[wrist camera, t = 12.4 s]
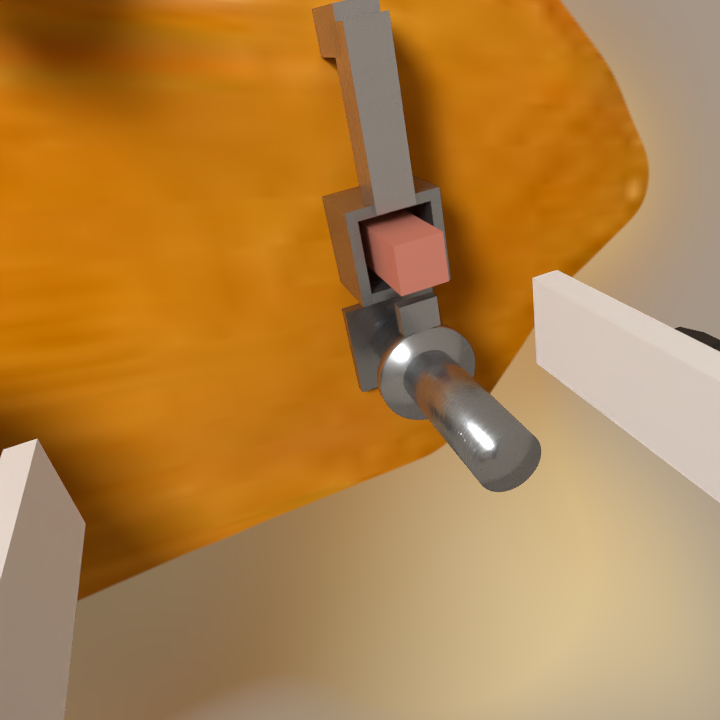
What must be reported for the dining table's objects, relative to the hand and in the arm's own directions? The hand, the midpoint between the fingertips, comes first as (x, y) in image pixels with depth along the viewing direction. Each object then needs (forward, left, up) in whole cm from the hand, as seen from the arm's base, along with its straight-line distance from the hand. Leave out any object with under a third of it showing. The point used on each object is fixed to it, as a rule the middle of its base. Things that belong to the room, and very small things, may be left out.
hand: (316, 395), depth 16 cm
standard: (+12, -16, -33) cm, 38 cm away
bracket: (+12, -1, -33) cm, 35 cm away
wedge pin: (+12, -7, -33) cm, 36 cm away
